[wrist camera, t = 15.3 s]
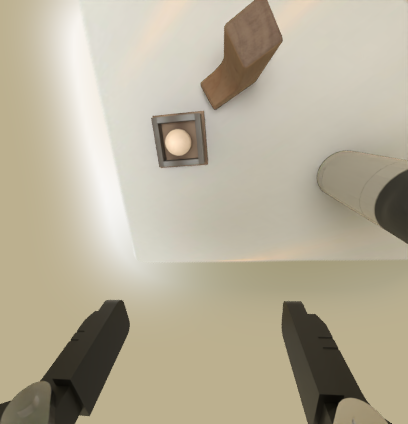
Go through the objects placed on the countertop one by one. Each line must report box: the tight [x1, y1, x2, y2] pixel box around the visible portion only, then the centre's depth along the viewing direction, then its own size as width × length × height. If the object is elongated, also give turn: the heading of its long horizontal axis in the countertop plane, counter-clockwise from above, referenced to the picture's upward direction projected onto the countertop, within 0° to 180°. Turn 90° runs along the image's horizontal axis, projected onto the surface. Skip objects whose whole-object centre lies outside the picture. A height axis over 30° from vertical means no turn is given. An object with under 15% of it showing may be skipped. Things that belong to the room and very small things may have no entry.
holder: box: [151, 111, 208, 168], centre depth 40 cm, size 10×10×4 cm
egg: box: [165, 129, 191, 156], centre depth 37 cm, size 5×5×7 cm
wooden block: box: [201, 0, 282, 109], centre depth 29 cm, size 9×4×18 cm, turn 122°
